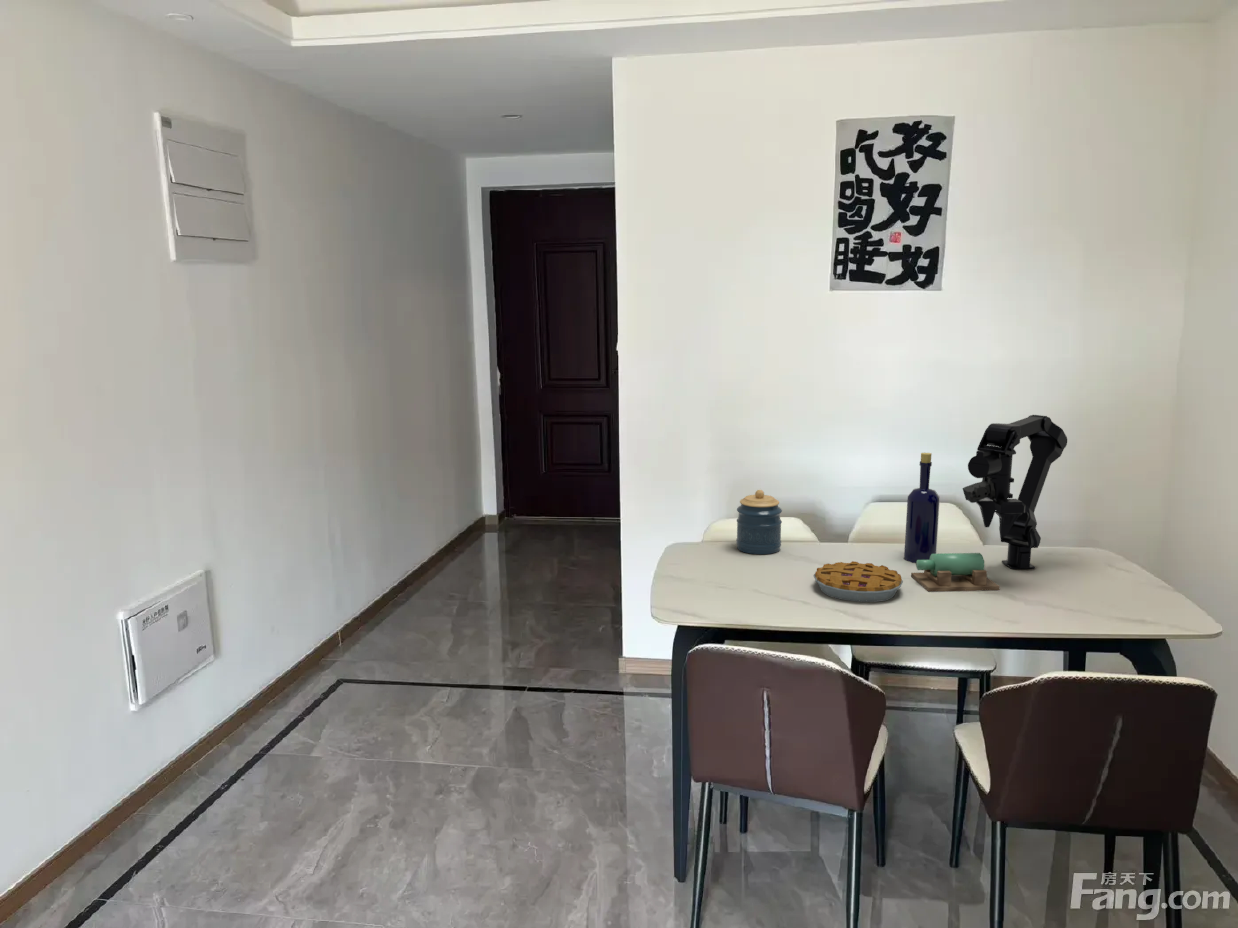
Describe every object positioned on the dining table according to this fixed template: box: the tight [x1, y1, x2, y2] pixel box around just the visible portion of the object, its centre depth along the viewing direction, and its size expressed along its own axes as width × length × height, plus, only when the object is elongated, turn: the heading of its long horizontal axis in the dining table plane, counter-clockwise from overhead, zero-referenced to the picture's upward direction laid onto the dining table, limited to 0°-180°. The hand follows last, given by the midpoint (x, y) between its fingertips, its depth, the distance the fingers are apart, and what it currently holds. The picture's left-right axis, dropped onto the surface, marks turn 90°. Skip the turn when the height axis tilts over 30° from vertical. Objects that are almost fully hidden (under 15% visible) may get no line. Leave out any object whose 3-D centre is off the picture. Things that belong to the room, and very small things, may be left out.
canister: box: [735, 489, 783, 555], centre depth 258 cm, size 13×13×18 cm
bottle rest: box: [910, 569, 1001, 593], centre depth 227 cm, size 18×12×4 cm, turn 92°
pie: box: [813, 560, 904, 603], centre depth 223 cm, size 22×22×5 cm
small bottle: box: [915, 552, 985, 576], centre depth 227 cm, size 16×6×6 cm, turn 92°
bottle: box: [903, 452, 941, 564], centre depth 245 cm, size 9×9×30 cm
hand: (994, 531), depth 230 cm, fingers open, 9 cm apart
